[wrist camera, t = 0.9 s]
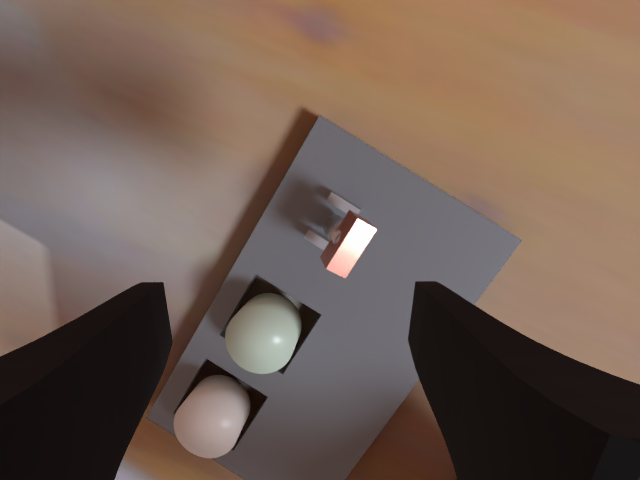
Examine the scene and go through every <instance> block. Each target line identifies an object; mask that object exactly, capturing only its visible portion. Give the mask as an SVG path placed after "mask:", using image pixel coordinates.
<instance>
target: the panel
mask: <svg viewBox="0 0 640 480" xmlns="http://www.w3.org/2000/svg"><path fill="white" fill-rule="evenodd" d="M349 210H351V211H353V212H354V213H356V214H358V215H360V216H361V217H363V218H365V219H367V220H368V221H369V222H370V223H371V224H372V225H373V226H374V227H375V228H376V229H377V231H376V232H375V234H374V235H373V237H372V238H371V240H370V241H369V243H368V244H367V246H366V247H365V249H364V251H363V252H362V254H361V255H360V257H359V258H358V260H357V261H356V263H355V264H354V266H353V268H352V269H351V271H350V272H349V274H348V275H347V277H346V278H343V277H341V276H339V275H337V274H335V273H333V272H331V271H329V270H327V269H326V268H325V266H324V264H323V262H322V260H321V258H320V256H321V254H322V253H323V251H324V250H325V248H326V246H327V245H328V243H329V242H330V240H329V239H328V237H327V236H326V234H325V232H324V230H323V224H324V221H325V220H326V218H327V217H329V216H331V215H339V216H341V217H343V218H344V217H345V216H346V214H347V213H348V211H349ZM521 241H522V240H521V239H520V238H518V237H516V236H515V235H513V234H512V233H510V232H508V231H507V230H505V229H503V228H502V227H500V226H499V225H497V224H495V223H494V222H492V221H490V220H489V219H487V218H486V217H484V216H482V215H481V214H479V213H478V212H476V211H474V210H473V209H471V208H469V207H468V206H466V205H465V204H463V203H461V202H460V201H458V200H456V199H455V198H453V197H452V196H450V195H448V194H447V193H445V192H443V191H442V190H440V189H439V188H437V187H435V186H434V185H432V184H430V183H429V182H427V181H426V180H424V179H422V178H421V177H419V176H418V175H416V174H414V173H413V172H411V171H409V170H408V169H406V168H405V167H403V166H401V165H400V164H398V163H396V162H395V161H393V160H392V159H390V158H388V157H387V156H385V155H383V154H382V153H380V152H379V151H377V150H375V149H374V148H372V147H370V146H369V145H367V144H366V143H364V142H362V141H361V140H359V139H357V138H356V137H354V136H353V135H351V134H349V133H348V132H346V131H345V130H343V129H341V128H340V127H338V126H336V125H335V124H333V123H332V122H330V121H328V120H327V119H325V118H323V117H322V116H319V117H318V119H317V121H316V123H315V124H314V126H313V128H312V129H311V131H310V133H309V135H308V136H307V138H306V140H305V142H304V143H303V145H302V147H301V149H300V150H299V152H298V154H297V156H296V157H295V159H294V161H293V163H292V164H291V166H290V168H289V170H288V171H287V173H286V175H285V177H284V178H283V180H282V182H281V183H280V185H279V187H278V189H277V190H276V192H275V194H274V196H273V197H272V199H271V201H270V203H269V204H268V206H267V208H266V210H265V211H264V213H263V215H262V217H261V218H260V220H259V222H258V224H257V225H256V227H255V229H254V231H253V232H252V234H251V236H250V238H249V239H248V241H247V243H246V244H245V246H244V248H243V250H242V251H241V253H240V255H239V257H238V258H237V260H236V262H235V264H234V265H233V267H232V269H231V271H230V272H229V274H228V276H227V278H226V279H225V281H224V283H223V285H222V286H221V288H220V290H219V292H218V293H217V295H216V297H215V299H214V300H213V302H212V304H211V305H210V307H209V309H208V311H207V312H206V314H205V316H204V318H203V319H202V321H201V323H200V325H199V326H198V328H197V330H196V332H195V333H194V335H193V337H192V339H191V340H190V342H189V344H188V346H187V347H186V349H185V351H184V353H183V354H182V356H181V358H180V359H179V361H178V363H177V365H176V366H175V368H174V370H173V372H172V373H171V375H170V377H169V379H168V380H167V382H166V384H165V386H164V387H163V389H162V391H161V393H160V394H159V396H158V398H157V400H156V401H155V403H154V405H153V407H152V408H151V410H150V412H149V414H148V415H147V417H146V418H148V419H149V420H151V421H152V422H154V423H155V424H157V425H159V426H160V427H162V428H163V429H165V430H167V431H168V432H170V433H171V434H173V435H175V436H176V434H175V431H174V417H175V414H176V412H177V410H178V409H179V407H180V406H181V405H182V403H183V402H184V401H183V400H184V398H185V397H186V395H187V393H188V392H189V390H190V388H191V387H192V385H193V383H194V382H195V380H196V378H197V376H198V375H199V373H200V371H201V370H202V368H203V366H204V365H205V363H206V361H207V360H210V361H211V362H213V363H214V364H216V365H218V366H219V367H221V368H222V369H224V370H226V371H227V372H229V373H230V374H232V375H234V376H235V377H237V378H238V379H240V380H242V381H243V382H245V383H246V384H248V385H250V386H251V387H253V388H254V389H256V390H258V391H259V392H261V393H262V394H264V395H266V398H265V399H264V401H263V402H262V404H261V405H260V407H259V408H258V410H257V412H256V413H255V415H254V416H253V418H252V419H251V421H250V422H249V424H248V425H247V427H246V429H245V430H244V432H243V433H242V435H241V436H239V437H238V439H237V441H236V443H235V445H234V446H233V448H232V449H231V450H230V451H229V452H228V453H226V454H225V455H223V456H220V457H217V458H211V459H213V460H214V461H216V462H218V463H219V464H221V465H222V466H224V467H226V468H227V469H229V470H230V471H232V472H233V473H235V474H237V475H238V476H240V477H241V478H243V479H245V480H345V479H346V478H347V476H348V475H349V474H350V472H351V471H352V470H353V468H354V467H355V465H356V464H357V463H358V461H359V460H360V459H361V457H362V456H363V455H364V453H365V452H366V451H367V449H368V448H369V447H370V445H371V444H372V443H373V441H374V440H375V438H376V437H377V436H378V434H379V433H380V432H381V430H382V429H383V428H384V426H385V425H386V424H387V422H388V421H389V420H390V418H391V417H392V415H393V414H394V413H395V411H396V410H397V409H398V407H399V406H400V405H401V403H402V402H403V401H404V399H405V398H406V397H407V395H408V394H409V393H410V391H411V390H412V388H413V387H414V386H415V384H416V383H417V382H418V380H419V377H418V374H417V372H416V369H415V365H414V362H413V358H412V354H411V350H410V346H409V342H408V334H409V327H410V319H411V311H412V304H413V296H414V288H415V281H437V282H439V283H440V284H442V285H444V286H446V287H447V288H449V289H450V290H452V291H453V292H455V293H457V294H458V295H460V296H461V297H463V298H464V299H466V300H467V301H469V302H470V303H472V304H473V305H475V303H476V302H477V301H478V299H479V298H480V297H481V295H482V294H483V293H484V291H485V290H486V288H487V287H488V286H489V284H490V283H491V282H492V280H493V279H494V278H495V276H496V275H497V274H498V272H499V271H500V270H501V268H502V267H503V265H504V264H505V263H506V261H507V260H508V259H509V257H510V256H511V255H512V253H513V252H514V251H515V249H516V248H517V247H518V245H519V244H520V243H521ZM257 275H258V276H260V277H261V278H263V279H265V280H266V281H268V282H269V283H271V284H273V285H274V286H276V287H277V288H279V289H281V290H282V291H284V292H285V293H287V294H289V295H290V296H292V297H294V298H295V299H297V300H298V301H300V302H302V303H303V304H305V305H306V306H308V307H310V308H311V309H313V310H314V311H316V312H318V313H319V316H318V317H317V319H316V320H315V322H314V323H313V325H312V326H311V328H310V330H309V331H308V333H307V334H306V336H305V337H304V339H303V340H302V342H301V343H300V345H299V347H298V348H297V350H296V351H295V353H294V354H293V356H292V357H291V359H290V360H289V362H288V364H286V365H285V366H283V367H282V368H281V369H279V370H277V371H275V372H272V373H268V374H257V373H252V372H249V371H247V370H245V369H243V368H241V367H240V366H239V365H238V364H236V363H235V361H234V360H233V359H232V358H231V356H230V355H229V353H228V350H227V347H226V343H225V333H226V329H227V326H228V324H229V322H230V321H231V319H232V317H233V316H234V314H235V312H236V311H237V309H238V307H239V306H240V304H241V302H242V300H243V299H244V297H245V295H246V294H247V292H248V290H249V289H250V287H251V285H252V284H253V282H254V280H255V279H256V277H257Z"/></svg>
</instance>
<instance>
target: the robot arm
mask: <svg viewBox="0 0 640 480" xmlns="http://www.w3.org/2000/svg"><path fill="white" fill-rule="evenodd" d="M408 342H409V346H410V350H411V354H412V358H413V362H414V365H415V369H416V372H417V374H418V377H419V379H420V382H421V384H422V387H423V389H424V392H425V394H426V396H427V399H428V401H429V404H430V406H431V408H432V411H433V413H434V415H435V418H436V420H437V423H438V425H439V427H440V430H441V432H442V435H443V437H444V439H445V442H446V445H447V447H448V450H449V453H450V456H451V459H452V462H453V465H454V469H455V472H456V475H457V479H458V480H640V385H639V384H636V383H633V382H631V381H628V380H625V379H622V378H620V377H617V376H614V375H611V374H609V373H606V372H604V371H601V370H599V369H596V368H594V367H591V366H589V365H586V364H584V363H581V362H579V361H577V360H574V359H572V358H570V357H567V356H565V355H563V354H561V353H559V352H557V351H555V350H552V349H550V348H548V347H546V346H544V345H542V344H540V343H538V342H536V341H534V340H532V339H530V338H528V337H526V336H525V335H523V334H521V333H519V332H517V331H516V330H514V329H512V328H510V327H509V326H507V325H505V324H503V323H502V322H500V321H499V320H497V319H495V318H494V317H492V316H490V315H489V314H487V313H486V312H484V311H482V310H481V309H479V308H478V307H476V306H475V305H473V304H472V303H470V302H469V301H467V300H466V299H464V298H463V297H461V296H460V295H458V294H457V293H455V292H453V291H452V290H450V289H449V288H447V287H446V286H444V285H442V284H440V283H439V282H437V281H415V288H414V296H413V304H412V311H411V319H410V327H409V334H408ZM171 346H172V335H171V329H170V322H169V316H168V310H167V303H166V297H165V290H164V284H163V282H141V283H139V284H137V285H135V286H133V287H131V288H129V289H127V290H125V291H123V292H122V293H120V294H118V295H116V296H115V297H113V298H111V299H110V300H108V301H106V302H105V303H103V304H101V305H99V306H98V307H96V308H94V309H92V310H91V311H89V312H87V313H86V314H84V315H82V316H80V317H79V318H77V319H75V320H73V321H71V322H69V323H67V324H66V325H64V326H62V327H60V328H58V329H56V330H54V331H53V332H51V333H49V334H47V335H45V336H43V337H41V338H39V339H37V340H35V341H33V342H31V343H29V344H27V345H25V346H23V347H21V348H18V349H16V350H14V351H12V352H9V353H7V354H5V355H3V356H1V357H0V480H114V479H115V477H116V474H117V471H118V468H119V466H120V463H121V461H122V459H123V456H124V454H125V452H126V449H127V447H128V445H129V443H130V441H131V439H132V437H133V435H134V433H135V430H136V428H137V426H138V424H139V422H140V420H141V418H142V416H143V414H144V412H145V410H146V408H147V406H148V404H149V402H150V399H151V397H152V395H153V393H154V391H155V389H156V387H157V385H158V383H159V380H160V378H161V376H162V374H163V371H164V368H165V365H166V362H167V359H168V356H169V352H170V349H171Z"/></svg>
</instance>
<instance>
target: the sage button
mask: <svg viewBox="0 0 640 480" xmlns="http://www.w3.org/2000/svg"><path fill="white" fill-rule="evenodd" d="M301 329H302V321H301V316H300V313H299V311H298V309H297V308H296V306H295V305H294V304H293V303H292V302H291V301H290V300H288V299H287V298H285V297H284V296H281V295H279V294H275V293H263V294H259V295H256V296H254V297H253V298H251V299H250V300H249V301H248V302H247V303H246V304H245V305H244V306H243V307H242V308H241V309H240V310H239V311H238V313H237V314H236V315H235V316H234V317H233V318H232V319H231V321H230V322H229V324H228V326H227V329H226V333H225V343H226V347H227V350H228V353H229V355H230V356H231V358H232V359H233V360H234V361H235V363H236V364H238V365H239V366H240V367H241V368H243V369H245V370H247V371H249V372H252V373H257V374H268V373H272V372H275V371H277V370H279V369H281V368H282V367H283V366H285V365H286V364H287V362H288V361H289V360H290V358H291V356H292V354H293V351H294V349H295V346H296V344H297V341H298V339H299V336H300V334H301Z"/></svg>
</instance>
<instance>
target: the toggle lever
mask: <svg viewBox="0 0 640 480" xmlns="http://www.w3.org/2000/svg"><path fill="white" fill-rule="evenodd" d="M323 230H324V232H325V234H326V236H327V237H328V239H329V240H330V242H329V243H328V245H327V246H326V248H325V250H324V251H323V253H322V254H321V256H320V258H321V260H322V262H323V264H324V266H325V268H326V269H327V270H329V271H331V272H333V273H335V274H337V275H339V276H341V277H343V278H346V277H347V275H348V274H349V272H350V271H351V269H352V268H353V266H354V264H355V263H356V261H357V260H358V258H359V257H360V255H361V254H362V252H363V251H364V249H365V247H366V246H367V244H368V243H369V241H370V240H371V238H372V237H373V235H374V234H375V232H376V231H377V229H376V228H375V227H374V226H373V225H372V224H371V223H370V222H369V221H368V220H367V219H365V218H363V217H361V216H360V215H358V214H356V213H354V212H353V211H351V210H349V211H348V213H347V214H346V216H345V217H344V218H343V217H341V216H339V215H331V216H329V217H327V218H326V220H325V221H324V224H323Z"/></svg>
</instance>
